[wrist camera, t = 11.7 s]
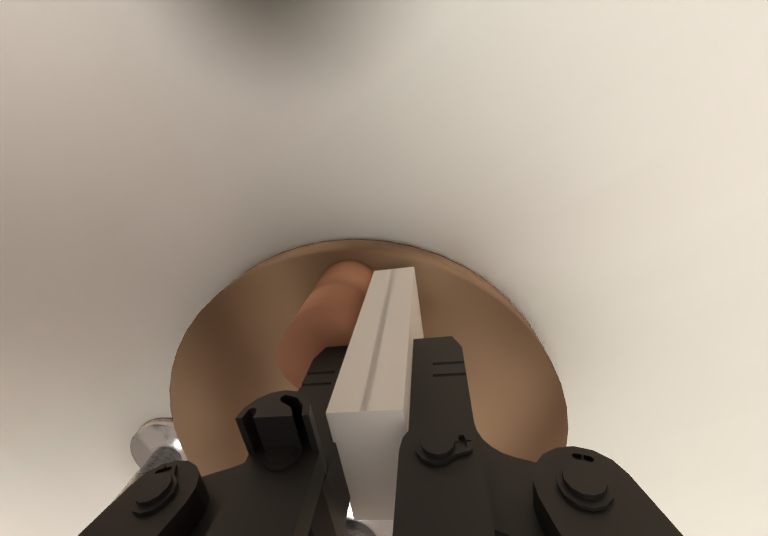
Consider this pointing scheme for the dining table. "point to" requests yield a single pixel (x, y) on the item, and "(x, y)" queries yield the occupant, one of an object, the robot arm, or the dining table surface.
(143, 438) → the indicator post
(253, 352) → the turntable
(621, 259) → the dining table surface
